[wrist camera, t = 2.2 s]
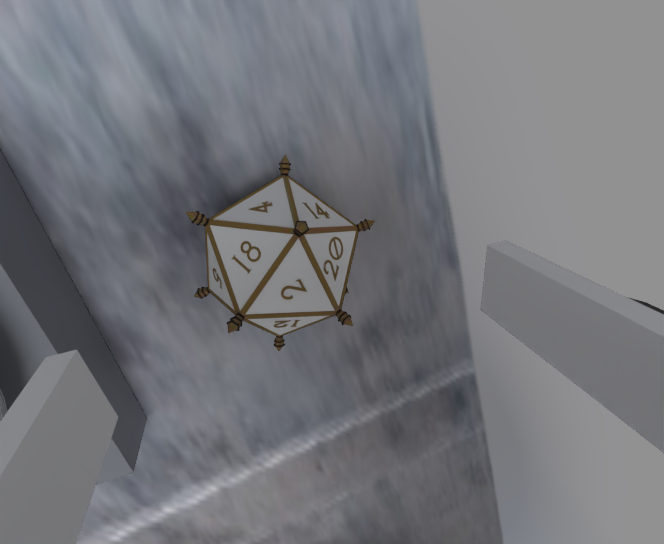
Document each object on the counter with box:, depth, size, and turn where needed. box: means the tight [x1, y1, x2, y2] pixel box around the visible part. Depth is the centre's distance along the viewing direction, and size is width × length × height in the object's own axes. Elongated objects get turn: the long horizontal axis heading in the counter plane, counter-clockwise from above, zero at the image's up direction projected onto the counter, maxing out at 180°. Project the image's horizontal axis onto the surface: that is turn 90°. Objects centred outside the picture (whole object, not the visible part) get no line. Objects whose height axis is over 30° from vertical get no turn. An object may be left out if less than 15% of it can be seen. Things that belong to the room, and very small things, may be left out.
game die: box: [186, 155, 375, 351], centre depth 17 cm, size 9×8×10 cm
